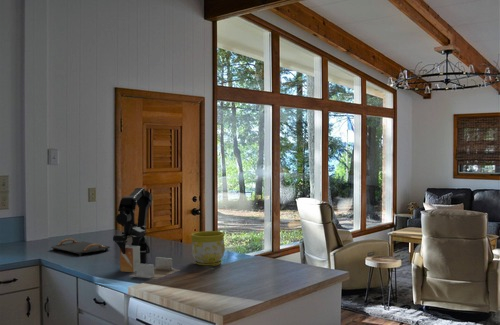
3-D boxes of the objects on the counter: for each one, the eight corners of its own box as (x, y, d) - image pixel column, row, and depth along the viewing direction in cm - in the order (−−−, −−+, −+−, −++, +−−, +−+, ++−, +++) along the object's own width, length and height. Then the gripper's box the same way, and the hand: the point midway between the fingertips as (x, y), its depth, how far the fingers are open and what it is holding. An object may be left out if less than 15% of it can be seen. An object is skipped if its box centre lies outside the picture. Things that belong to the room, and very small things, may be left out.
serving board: (113, 251, 327) (113, 241, 326) (79, 258, 309) (79, 247, 309) (80, 245, 352) (80, 236, 352) (47, 250, 335) (47, 241, 335)
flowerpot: (188, 262, 288) (187, 232, 287) (219, 259, 294) (218, 230, 294) (196, 269, 271) (195, 237, 271) (229, 265, 277) (229, 234, 277)
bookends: (159, 267, 273) (158, 256, 273) (175, 269, 268) (174, 257, 268) (134, 276, 255) (133, 264, 255) (150, 278, 251) (150, 265, 251)
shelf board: (153, 268, 275) (153, 267, 275) (180, 271, 267) (180, 270, 267) (128, 277, 257) (128, 275, 257) (156, 280, 249) (156, 279, 249)
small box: (120, 272, 268) (119, 247, 267) (127, 270, 273) (127, 245, 273) (133, 273, 264) (132, 248, 264) (140, 271, 270) (140, 245, 270)
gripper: (129, 225, 256) (130, 257, 257) (153, 219, 273) (154, 249, 273) (111, 224, 261) (112, 255, 262) (136, 219, 278) (137, 248, 279)
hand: (130, 252), depth 269 cm, fingers open, 9 cm apart
